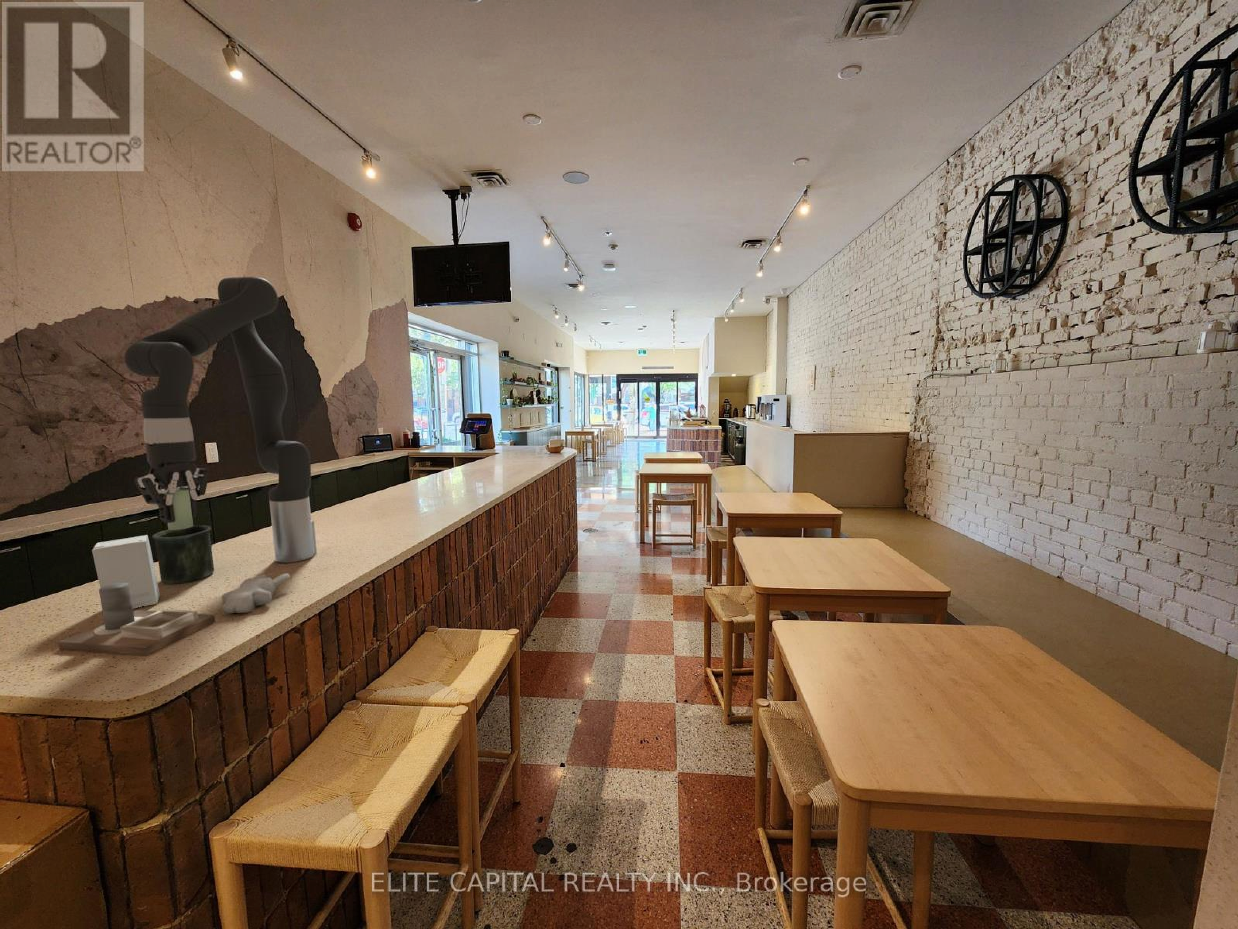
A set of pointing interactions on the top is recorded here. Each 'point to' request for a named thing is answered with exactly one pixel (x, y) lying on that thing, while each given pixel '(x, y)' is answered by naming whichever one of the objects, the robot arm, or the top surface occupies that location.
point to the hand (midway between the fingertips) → (179, 519)
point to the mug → (184, 554)
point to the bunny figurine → (252, 593)
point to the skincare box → (128, 568)
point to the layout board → (134, 626)
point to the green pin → (181, 510)
